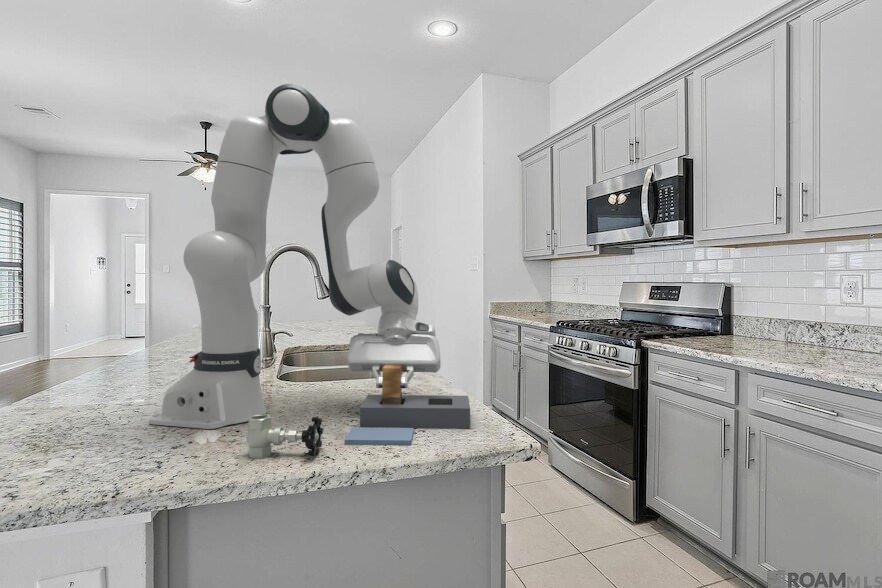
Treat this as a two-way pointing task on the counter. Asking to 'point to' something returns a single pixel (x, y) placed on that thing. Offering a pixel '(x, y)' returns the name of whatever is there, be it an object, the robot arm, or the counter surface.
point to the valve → (280, 436)
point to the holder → (416, 412)
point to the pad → (380, 436)
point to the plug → (391, 384)
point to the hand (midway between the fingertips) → (391, 386)
